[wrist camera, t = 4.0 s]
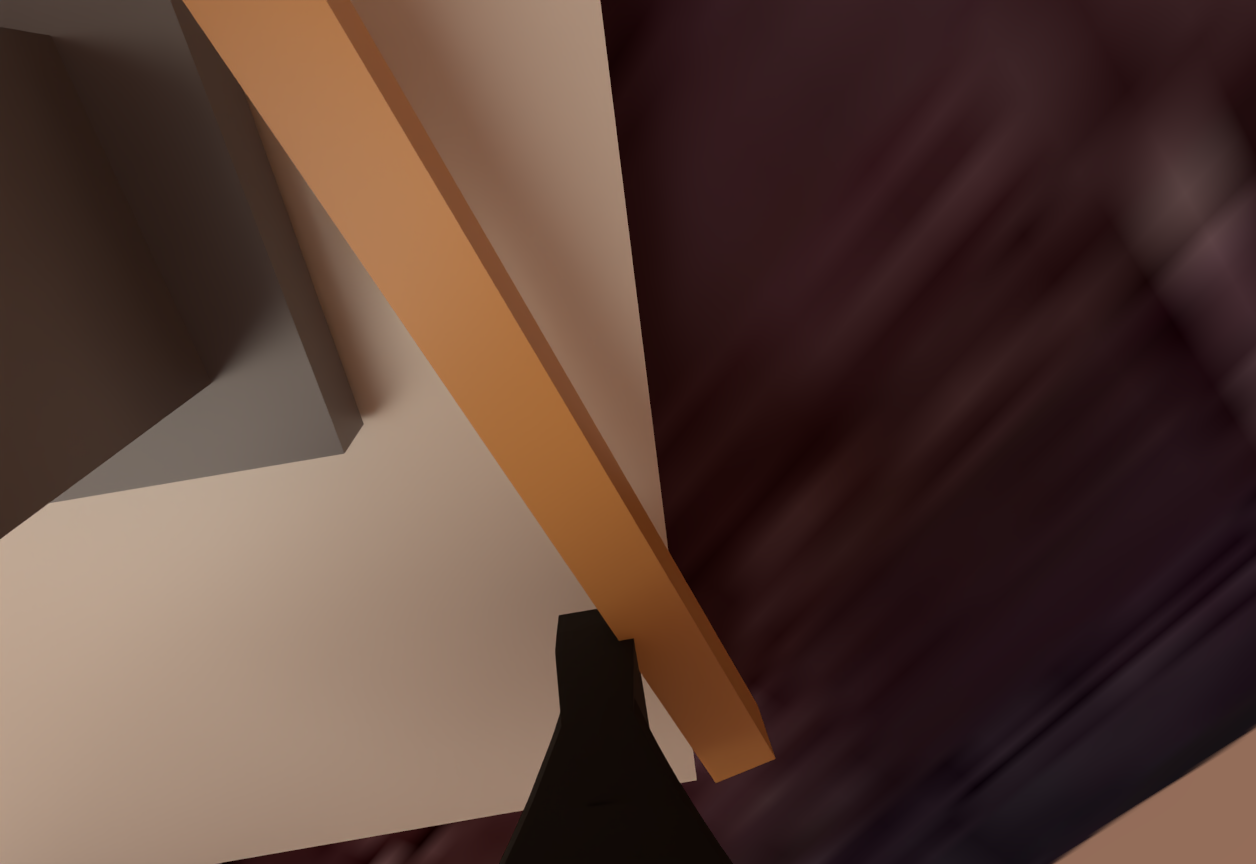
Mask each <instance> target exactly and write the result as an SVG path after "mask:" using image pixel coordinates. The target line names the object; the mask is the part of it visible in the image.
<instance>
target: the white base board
mask: <svg viewBox="0 0 1256 864" xmlns="http://www.w3.org/2000/svg"><path fill="white" fill-rule="evenodd" d="M350 1H351V3H352V4H353V6H354V8H355V9H356V11H357V13H358V15H359V16H360V18H361V20H362V22H363V23H364V25H365V27H366V29H367V30H368V32H369V34H370V35H371V37H372V39H373V41H374V42H375V44H376V46H377V48H378V49H379V51H380V53H381V54H382V56H383V58H384V60H385V61H386V63H387V65H388V67H389V68H390V70H391V72H392V74H393V75H394V77H395V79H396V80H397V82H398V84H399V86H400V87H401V89H402V91H403V93H404V94H405V96H406V98H407V99H408V101H409V103H410V105H411V106H412V108H413V110H414V112H415V113H416V115H417V117H418V119H419V120H420V122H421V124H422V125H423V127H424V129H425V131H426V132H427V134H428V136H429V138H430V139H431V141H432V143H433V144H434V146H435V148H436V150H437V151H438V153H439V155H440V157H441V158H442V160H443V162H444V164H445V165H446V167H447V169H448V170H449V172H450V174H451V176H452V177H453V179H454V181H455V183H456V184H457V186H458V188H459V189H460V191H461V193H462V195H463V196H464V198H465V200H466V202H467V203H468V205H469V207H470V209H471V210H472V212H473V214H474V215H475V217H476V219H477V221H478V222H479V224H480V226H481V228H482V229H483V231H484V233H485V234H486V236H487V238H488V240H489V241H490V243H491V245H492V247H493V248H494V250H495V252H496V254H497V255H498V257H499V259H500V260H501V262H502V264H503V266H504V267H505V269H506V271H507V273H508V274H509V276H510V278H511V279H512V281H513V283H514V285H515V286H516V288H517V290H518V292H519V293H520V295H521V297H522V299H523V300H524V302H525V304H526V305H527V307H528V309H529V311H530V312H531V314H532V316H533V318H534V319H535V321H536V323H537V324H538V326H539V328H540V330H541V331H542V333H543V335H544V337H545V338H546V340H547V342H548V343H549V345H550V347H551V349H552V350H553V352H554V354H555V356H556V357H557V359H558V361H559V363H560V364H561V366H562V368H563V369H564V371H565V373H566V375H567V376H568V378H569V380H570V382H571V383H572V385H573V387H574V388H575V390H576V392H577V394H578V395H579V397H580V399H581V401H582V402H583V404H584V406H585V408H586V409H587V411H588V413H589V414H590V416H591V418H592V420H593V421H594V423H595V425H596V427H597V428H598V430H599V432H600V433H601V435H602V437H603V439H604V440H605V442H606V444H607V446H608V447H609V449H610V451H611V453H612V454H613V456H614V458H615V459H616V461H617V463H618V465H619V466H620V468H621V470H622V472H623V473H624V475H625V477H626V478H627V480H628V482H629V484H630V485H631V487H632V489H633V491H634V492H635V494H636V496H637V498H638V499H639V501H640V503H641V504H642V506H643V508H644V510H645V511H646V513H647V515H648V517H649V518H650V520H651V522H652V523H653V525H654V527H655V529H656V530H657V532H658V534H659V536H660V537H661V539H662V541H663V543H664V544H665V546H666V548H667V549H668V544H667V536H666V528H665V520H664V512H663V504H662V495H661V487H660V479H659V471H658V463H657V455H656V447H655V439H654V431H653V423H652V415H651V406H650V398H649V390H648V382H647V374H646V366H645V358H644V350H643V342H642V334H641V326H640V317H639V309H638V301H637V293H636V285H635V277H634V269H633V261H632V253H631V245H630V237H629V228H628V220H627V212H626V204H625V196H624V188H623V180H622V172H621V164H620V156H619V148H618V139H617V131H616V123H615V115H614V107H613V99H612V91H611V83H610V75H609V67H608V59H607V51H606V42H605V34H604V26H603V18H602V10H601V2H600V0H350ZM244 93H245V92H244ZM245 96H246V99H247V102H248V104H249V107H250V110H251V113H252V115H253V118H254V121H255V124H256V127H257V129H258V132H259V135H260V138H261V140H262V143H263V146H264V149H265V152H266V154H267V157H268V160H269V163H270V165H271V168H272V171H273V174H274V176H275V179H276V182H277V185H278V188H279V190H280V193H281V196H282V199H283V201H284V204H285V207H286V210H287V213H288V215H289V218H290V221H291V224H292V226H293V229H294V232H295V235H296V237H297V240H298V243H299V246H300V249H301V251H302V254H303V257H304V260H305V262H306V265H307V268H308V271H309V274H310V276H311V279H312V282H313V285H314V287H315V290H316V293H317V296H318V299H319V301H320V304H321V307H322V310H323V312H324V315H325V318H326V321H327V323H328V326H329V329H330V332H331V335H332V337H333V340H334V343H335V346H336V348H337V351H338V354H339V357H340V360H341V362H342V365H343V368H344V371H345V373H346V376H347V379H348V382H349V385H350V387H351V390H352V393H353V396H354V398H355V401H356V404H357V407H358V409H359V412H360V415H361V418H362V421H363V423H364V425H363V426H362V428H361V429H360V431H359V432H358V434H357V435H356V437H355V438H354V440H353V441H352V443H351V444H350V446H349V448H348V449H347V451H346V452H345V454H339V455H333V456H327V457H321V458H316V459H310V460H304V461H298V462H292V463H286V464H280V465H274V466H268V467H262V468H256V469H250V470H244V471H238V472H232V473H226V474H220V475H214V476H208V477H202V478H196V479H190V480H184V481H179V482H173V483H167V484H161V485H155V486H149V487H143V488H137V489H131V490H125V491H119V492H113V493H107V494H101V495H95V496H89V497H83V498H77V499H71V500H65V501H59V502H53V503H49V504H47V505H46V506H45V507H43V508H42V509H41V510H39V511H38V512H37V513H35V514H34V515H32V516H31V517H30V518H28V519H27V520H26V521H24V522H23V523H22V524H20V525H19V526H18V527H16V528H15V529H13V530H12V531H11V532H9V533H8V534H7V535H5V536H4V537H3V538H1V539H0V864H217V863H223V862H229V861H234V860H240V859H246V858H252V857H257V856H263V855H269V854H275V853H280V852H286V851H292V850H298V849H303V848H309V847H315V846H321V845H326V844H332V843H338V842H344V841H350V840H355V839H361V838H367V837H373V836H378V835H384V834H390V833H396V832H401V831H407V830H413V829H419V828H424V827H430V826H436V825H442V824H447V823H453V822H459V821H465V820H470V819H476V818H482V817H488V816H493V815H499V814H505V813H511V812H516V811H522V810H524V808H525V805H526V803H527V801H528V798H529V796H530V793H531V791H532V788H533V785H534V783H535V780H536V778H537V775H538V773H539V770H540V767H541V765H542V762H543V760H544V757H545V755H546V752H547V749H548V747H549V744H550V741H551V739H552V736H553V733H554V730H555V727H556V724H557V721H558V718H559V714H560V704H559V693H558V682H557V670H556V658H555V646H556V634H557V625H558V617H559V615H563V614H569V613H575V612H581V611H586V610H592V609H597V608H596V607H595V605H594V604H593V602H592V601H591V599H590V598H589V596H588V595H587V593H586V592H585V590H584V589H583V587H582V586H581V585H580V583H579V582H578V580H577V579H576V577H575V576H574V574H573V573H572V571H571V570H570V568H569V567H568V565H567V564H566V563H565V561H564V560H563V558H562V557H561V555H560V554H559V552H558V551H557V549H556V548H555V546H554V545H553V543H552V542H551V541H550V539H549V538H548V536H547V535H546V533H545V532H544V530H543V529H542V527H541V526H540V524H539V523H538V521H537V520H536V518H535V517H534V516H533V514H532V513H531V511H530V510H529V508H528V507H527V505H526V504H525V502H524V501H523V499H522V498H521V496H520V495H519V494H518V492H517V491H516V489H515V488H514V486H513V485H512V483H511V482H510V480H509V479H508V477H507V476H506V474H505V473H504V472H503V470H502V469H501V467H500V466H499V464H498V463H497V461H496V460H495V458H494V457H493V455H492V454H491V452H490V451H489V450H488V448H487V447H486V445H485V444H484V442H483V441H482V439H481V438H480V436H479V435H478V433H477V432H476V430H475V429H474V428H473V426H472V425H471V423H470V422H469V420H468V419H467V417H466V416H465V414H464V413H463V411H462V410H461V408H460V407H459V406H458V404H457V403H456V401H455V400H454V398H453V397H452V395H451V394H450V392H449V391H448V389H447V388H446V386H445V385H444V384H443V382H442V381H441V379H440V378H439V376H438V375H437V373H436V372H435V370H434V369H433V367H432V366H431V364H430V363H429V361H428V360H427V359H426V357H425V356H424V354H423V353H422V351H421V350H420V348H419V347H418V345H417V344H416V342H415V341H414V339H413V338H412V337H411V335H410V334H409V332H408V331H407V329H406V328H405V326H404V325H403V323H402V322H401V320H400V319H399V317H398V316H397V315H396V313H395V312H394V310H393V309H392V307H391V306H390V304H389V303H388V301H387V300H386V298H385V297H384V295H383V294H382V293H381V291H380V290H379V288H378V287H377V285H376V284H375V282H374V281H373V279H372V278H371V276H370V275H369V273H368V272H367V271H366V269H365V268H364V266H363V265H362V263H361V262H360V260H359V259H358V257H357V256H356V254H355V253H354V251H353V250H352V249H351V247H350V246H349V244H348V243H347V241H346V240H345V238H344V237H343V235H342V234H341V232H340V231H339V229H338V228H337V227H336V225H335V224H334V222H333V221H332V219H331V218H330V216H329V215H328V213H327V212H326V210H325V209H324V207H323V206H322V204H321V203H320V202H319V200H318V199H317V197H316V196H315V194H314V193H313V191H312V190H311V188H310V187H309V185H308V184H307V182H306V181H305V180H304V178H303V177H302V175H301V174H300V172H299V171H298V169H297V168H296V166H295V165H294V163H293V162H292V160H291V159H290V158H289V156H288V155H287V153H286V152H285V150H284V149H283V147H282V146H281V144H280V143H279V141H278V140H277V138H276V137H275V136H274V134H273V133H272V131H271V130H270V128H269V127H268V125H267V124H266V122H265V121H264V119H263V118H262V116H261V115H260V114H259V112H258V111H257V109H256V108H255V106H254V105H253V103H252V102H251V100H250V99H249V97H248V96H247V94H246V93H245ZM641 677H642V683H643V689H644V695H645V701H646V708H647V714H648V721H649V727H650V730H651V732H652V734H653V736H654V738H655V739H656V741H657V743H658V745H659V747H660V749H661V751H662V752H663V754H664V756H665V758H666V759H667V761H668V763H669V765H670V766H671V768H672V770H673V772H674V773H675V775H676V777H677V778H678V780H679V782H680V783H683V782H689V781H695V780H697V779H696V770H695V762H694V754H693V749H692V747H691V746H690V744H689V743H688V742H687V740H686V739H685V737H684V736H683V734H682V733H681V731H680V730H679V728H678V727H677V725H676V724H675V722H674V721H673V720H672V718H671V717H670V715H669V714H668V712H667V711H666V709H665V708H664V706H663V705H662V703H661V702H660V700H659V699H658V698H657V696H656V695H655V693H654V692H653V690H652V689H651V687H650V686H649V684H648V683H647V681H646V680H645V678H644V677H643V676H642V674H641Z"/></svg>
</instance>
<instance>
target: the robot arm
mask: <svg viewBox="0 0 1256 864" xmlns="http://www.w3.org/2000/svg"><path fill="white" fill-rule="evenodd" d="M555 658H556V670H557V682H558V693H559V704H560V714H559V718H558V721H557V724H556V727H555V730H554V733H553V736H552V739H551V741H550V744H549V747H548V749H547V752H546V755H545V757H544V760H543V762H542V765H541V767H540V770H539V773H538V775H537V778H536V780H535V783H534V785H533V788H532V791H531V793H530V796H529V798H528V801H527V803H526V805H525V808H524V810H523V812H522V815H521V817H520V819H519V821H518V824H517V826H516V828H515V831H514V833H513V835H512V837H511V839H510V842H509V844H508V846H507V848H506V850H505V852H504V854H503V856H502V859H501V861H500V863H499V864H733V863H732V862H731V860H730V859H729V857H728V856H727V854H726V853H725V852H724V850H723V849H722V847H721V846H720V844H719V843H718V841H717V840H716V838H715V837H714V835H713V834H712V832H711V831H710V829H709V828H708V826H707V825H706V823H705V822H704V820H703V819H702V817H701V816H700V814H699V813H698V811H697V809H696V808H695V806H694V805H693V803H692V801H691V800H690V798H689V797H688V795H687V793H686V792H685V790H684V788H683V787H682V785H681V783H680V782H679V780H678V778H677V777H676V775H675V773H674V772H673V770H672V768H671V766H670V765H669V763H668V761H667V759H666V758H665V756H664V754H663V752H662V751H661V749H660V747H659V745H658V743H657V741H656V739H655V738H654V736H653V734H652V732H651V730H650V727H649V721H648V714H647V708H646V701H645V695H644V689H643V683H642V677H641V673H640V671H639V666H638V660H637V655H636V649H635V643H634V638H633V639H627V640H621V641H619V640H618V639H617V637H616V636H615V634H614V633H613V631H612V630H611V629H610V627H609V626H608V624H607V623H606V621H605V620H604V618H603V617H602V615H601V614H600V612H599V611H598V609H592V610H586V611H581V612H575V613H569V614H563V615H559V617H558V625H557V634H556V646H555ZM217 864H222V863H217Z"/></svg>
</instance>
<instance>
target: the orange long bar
mask: <svg viewBox="0 0 1256 864" xmlns="http://www.w3.org/2000/svg"><path fill="white" fill-rule="evenodd" d="M182 1H183V2H184V3H185V5H186V6H187V8H188V9H189V11H190V12H191V14H192V15H193V17H194V18H195V20H196V21H197V23H198V24H199V25H200V27H201V28H202V30H203V31H204V33H205V34H206V36H207V37H208V39H209V40H210V42H211V43H212V45H213V46H214V47H215V49H216V50H217V52H218V53H219V55H220V56H221V58H222V59H223V61H224V62H225V64H226V65H227V67H228V68H229V69H230V71H231V72H232V74H233V75H234V77H235V78H236V80H237V81H238V83H239V84H240V86H241V87H242V89H243V90H244V92H245V93H246V94H247V96H248V97H249V99H250V100H251V102H252V103H253V105H254V106H255V108H256V109H257V111H258V112H259V114H260V115H261V116H262V118H263V119H264V121H265V122H266V124H267V125H268V127H269V128H270V130H271V131H272V133H273V134H274V136H275V137H276V138H277V140H278V141H279V143H280V144H281V146H282V147H283V149H284V150H285V152H286V153H287V155H288V156H289V158H290V159H291V160H292V162H293V163H294V165H295V166H296V168H297V169H298V171H299V172H300V174H301V175H302V177H303V178H304V180H305V181H306V182H307V184H308V185H309V187H310V188H311V190H312V191H313V193H314V194H315V196H316V197H317V199H318V200H319V202H320V203H321V204H322V206H323V207H324V209H325V210H326V212H327V213H328V215H329V216H330V218H331V219H332V221H333V222H334V224H335V225H336V227H337V228H338V229H339V231H340V232H341V234H342V235H343V237H344V238H345V240H346V241H347V243H348V244H349V246H350V247H351V249H352V250H353V251H354V253H355V254H356V256H357V257H358V259H359V260H360V262H361V263H362V265H363V266H364V268H365V269H366V271H367V272H368V273H369V275H370V276H371V278H372V279H373V281H374V282H375V284H376V285H377V287H378V288H379V290H380V291H381V293H382V294H383V295H384V297H385V298H386V300H387V301H388V303H389V304H390V306H391V307H392V309H393V310H394V312H395V313H396V315H397V316H398V317H399V319H400V320H401V322H402V323H403V325H404V326H405V328H406V329H407V331H408V332H409V334H410V335H411V337H412V338H413V339H414V341H415V342H416V344H417V345H418V347H419V348H420V350H421V351H422V353H423V354H424V356H425V357H426V359H427V360H428V361H429V363H430V364H431V366H432V367H433V369H434V370H435V372H436V373H437V375H438V376H439V378H440V379H441V381H442V382H443V384H444V385H445V386H446V388H447V389H448V391H449V392H450V394H451V395H452V397H453V398H454V400H455V401H456V403H457V404H458V406H459V407H460V408H461V410H462V411H463V413H464V414H465V416H466V417H467V419H468V420H469V422H470V423H471V425H472V426H473V428H474V429H475V430H476V432H477V433H478V435H479V436H480V438H481V439H482V441H483V442H484V444H485V445H486V447H487V448H488V450H489V451H490V452H491V454H492V455H493V457H494V458H495V460H496V461H497V463H498V464H499V466H500V467H501V469H502V470H503V472H504V473H505V474H506V476H507V477H508V479H509V480H510V482H511V483H512V485H513V486H514V488H515V489H516V491H517V492H518V494H519V495H520V496H521V498H522V499H523V501H524V502H525V504H526V505H527V507H528V508H529V510H530V511H531V513H532V514H533V516H534V517H535V518H536V520H537V521H538V523H539V524H540V526H541V527H542V529H543V530H544V532H545V533H546V535H547V536H548V538H549V539H550V541H551V542H552V543H553V545H554V546H555V548H556V549H557V551H558V552H559V554H560V555H561V557H562V558H563V560H564V561H565V563H566V564H567V565H568V567H569V568H570V570H571V571H572V573H573V574H574V576H575V577H576V579H577V580H578V582H579V583H580V585H581V586H582V587H583V589H584V590H585V592H586V593H587V595H588V596H589V598H590V599H591V601H592V602H593V604H594V605H595V607H596V608H597V609H598V611H599V612H600V614H601V615H602V617H603V618H604V620H605V621H606V623H607V624H608V626H609V627H610V629H611V630H612V631H613V633H614V634H615V636H616V637H617V639H618V640H619V641H621V640H627V639H633V638H634V643H635V649H636V655H637V660H638V666H639V671H640V673H641V674H642V676H643V677H644V678H645V680H646V681H647V683H648V684H649V686H650V687H651V689H652V690H653V692H654V693H655V695H656V696H657V698H658V699H659V700H660V702H661V703H662V705H663V706H664V708H665V709H666V711H667V712H668V714H669V715H670V717H671V718H672V720H673V721H674V722H675V724H676V725H677V727H678V728H679V730H680V731H681V733H682V734H683V736H684V737H685V739H686V740H687V742H688V743H689V744H690V746H691V747H692V749H693V750H694V752H695V753H696V755H697V756H698V758H699V759H700V761H701V762H702V764H703V765H704V766H705V768H706V769H707V771H708V772H709V774H710V775H711V777H712V778H713V780H714V781H715V783H717V782H720V781H722V780H725V779H727V778H730V777H732V776H734V775H737V774H739V773H742V772H744V771H747V770H749V769H752V768H754V767H757V766H759V765H761V764H764V763H766V762H769V761H771V760H774V759H776V758H775V755H774V753H773V750H772V747H771V744H770V741H769V738H768V735H767V732H766V729H765V726H764V723H763V720H762V717H761V714H760V711H759V708H758V705H757V703H756V702H755V700H754V698H753V697H752V695H751V693H750V691H749V690H748V688H747V686H746V684H745V683H744V681H743V679H742V678H741V676H740V674H739V672H738V671H737V669H736V667H735V665H734V664H733V662H732V660H731V658H730V657H729V655H728V653H727V652H726V650H725V648H724V646H723V645H722V643H721V641H720V639H719V638H718V636H717V634H716V633H715V631H714V629H713V627H712V626H711V624H710V622H709V620H708V619H707V617H706V615H705V613H704V612H703V610H702V608H701V607H700V605H699V603H698V601H697V600H696V598H695V596H694V594H693V593H692V591H691V589H690V588H689V586H688V584H687V582H686V581H685V579H684V577H683V575H682V574H681V572H680V570H679V568H678V567H677V565H676V563H675V562H674V560H673V558H672V556H671V555H670V553H669V551H668V549H667V548H666V546H665V544H664V543H663V541H662V539H661V537H660V536H659V534H658V532H657V530H656V529H655V527H654V525H653V523H652V522H651V520H650V518H649V517H648V515H647V513H646V511H645V510H644V508H643V506H642V504H641V503H640V501H639V499H638V498H637V496H636V494H635V492H634V491H633V489H632V487H631V485H630V484H629V482H628V480H627V478H626V477H625V475H624V473H623V472H622V470H621V468H620V466H619V465H618V463H617V461H616V459H615V458H614V456H613V454H612V453H611V451H610V449H609V447H608V446H607V444H606V442H605V440H604V439H603V437H602V435H601V433H600V432H599V430H598V428H597V427H596V425H595V423H594V421H593V420H592V418H591V416H590V414H589V413H588V411H587V409H586V408H585V406H584V404H583V402H582V401H581V399H580V397H579V395H578V394H577V392H576V390H575V388H574V387H573V385H572V383H571V382H570V380H569V378H568V376H567V375H566V373H565V371H564V369H563V368H562V366H561V364H560V363H559V361H558V359H557V357H556V356H555V354H554V352H553V350H552V349H551V347H550V345H549V343H548V342H547V340H546V338H545V337H544V335H543V333H542V331H541V330H540V328H539V326H538V324H537V323H536V321H535V319H534V318H533V316H532V314H531V312H530V311H529V309H528V307H527V305H526V304H525V302H524V300H523V299H522V297H521V295H520V293H519V292H518V290H517V288H516V286H515V285H514V283H513V281H512V279H511V278H510V276H509V274H508V273H507V271H506V269H505V267H504V266H503V264H502V262H501V260H500V259H499V257H498V255H497V254H496V252H495V250H494V248H493V247H492V245H491V243H490V241H489V240H488V238H487V236H486V234H485V233H484V231H483V229H482V228H481V226H480V224H479V222H478V221H477V219H476V217H475V215H474V214H473V212H472V210H471V209H470V207H469V205H468V203H467V202H466V200H465V198H464V196H463V195H462V193H461V191H460V189H459V188H458V186H457V184H456V183H455V181H454V179H453V177H452V176H451V174H450V172H449V170H448V169H447V167H446V165H445V164H444V162H443V160H442V158H441V157H440V155H439V153H438V151H437V150H436V148H435V146H434V144H433V143H432V141H431V139H430V138H429V136H428V134H427V132H426V131H425V129H424V127H423V125H422V124H421V122H420V120H419V119H418V117H417V115H416V113H415V112H414V110H413V108H412V106H411V105H410V103H409V101H408V99H407V98H406V96H405V94H404V93H403V91H402V89H401V87H400V86H399V84H398V82H397V80H396V79H395V77H394V75H393V74H392V72H391V70H390V68H389V67H388V65H387V63H386V61H385V60H384V58H383V56H382V54H381V53H380V51H379V49H378V48H377V46H376V44H375V42H374V41H373V39H372V37H371V35H370V34H369V32H368V30H367V29H366V27H365V25H364V23H363V22H362V20H361V18H360V16H359V15H358V13H357V11H356V9H355V8H354V6H353V4H352V3H351V1H350V0H182Z"/></svg>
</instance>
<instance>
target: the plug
mask: <svg viewBox="0 0 1256 864" xmlns="http://www.w3.org/2000/svg"><path fill="white" fill-rule="evenodd" d="M363 425H364V423H363V421H362V418H361V415H360V412H359V409H358V407H357V404H356V401H355V398H354V396H353V393H352V390H351V387H350V385H349V382H348V379H347V376H346V373H345V371H344V368H343V365H342V362H341V360H340V357H339V354H338V351H337V348H336V346H335V343H334V340H333V337H332V335H331V332H330V329H329V326H328V323H327V321H326V318H325V315H324V312H323V310H322V307H321V304H320V301H319V299H318V296H317V293H316V290H315V287H314V285H313V282H312V279H311V276H310V274H309V271H308V268H307V265H306V262H305V260H304V257H303V254H302V251H301V249H300V246H299V243H298V240H297V237H296V235H295V232H294V229H293V226H292V224H291V221H290V218H289V215H288V213H287V210H286V207H285V204H284V201H283V199H282V196H281V193H280V190H279V188H278V185H277V182H276V179H275V176H274V174H273V171H272V168H271V165H270V163H269V160H268V157H267V154H266V152H265V149H264V146H263V143H262V140H261V138H260V135H259V132H258V129H257V127H256V124H255V121H254V118H253V115H252V113H251V110H250V107H249V104H248V102H247V99H246V96H245V93H244V90H243V89H242V87H241V86H240V84H239V83H238V81H237V80H236V78H235V77H234V75H233V74H232V72H231V71H230V69H229V68H228V67H227V65H226V64H225V62H224V61H223V59H222V58H221V56H220V55H219V53H218V52H217V50H216V49H215V47H214V46H213V45H212V43H211V42H210V40H209V39H208V37H207V36H206V34H205V33H204V31H203V30H202V28H201V27H200V25H199V24H198V23H197V21H196V20H195V18H194V17H193V15H192V14H191V12H190V11H189V9H188V8H187V6H186V5H185V3H184V2H183V1H182V0H0V539H1V538H3V537H4V536H5V535H7V534H8V533H9V532H11V531H12V530H13V529H15V528H16V527H18V526H19V525H20V524H22V523H23V522H24V521H26V520H27V519H28V518H30V517H31V516H32V515H34V514H35V513H37V512H38V511H39V510H41V509H42V508H43V507H45V506H46V505H47V504H49V503H53V502H59V501H65V500H71V499H77V498H83V497H89V496H95V495H101V494H107V493H113V492H119V491H125V490H131V489H137V488H143V487H149V486H155V485H161V484H167V483H173V482H179V481H184V480H190V479H196V478H202V477H208V476H214V475H220V474H226V473H232V472H238V471H244V470H250V469H256V468H262V467H268V466H274V465H280V464H286V463H292V462H298V461H304V460H310V459H316V458H321V457H327V456H333V455H339V454H345V452H346V451H347V449H348V448H349V446H350V444H351V443H352V441H353V440H354V438H355V437H356V435H357V434H358V432H359V431H360V429H361V428H362V426H363Z"/></svg>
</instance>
